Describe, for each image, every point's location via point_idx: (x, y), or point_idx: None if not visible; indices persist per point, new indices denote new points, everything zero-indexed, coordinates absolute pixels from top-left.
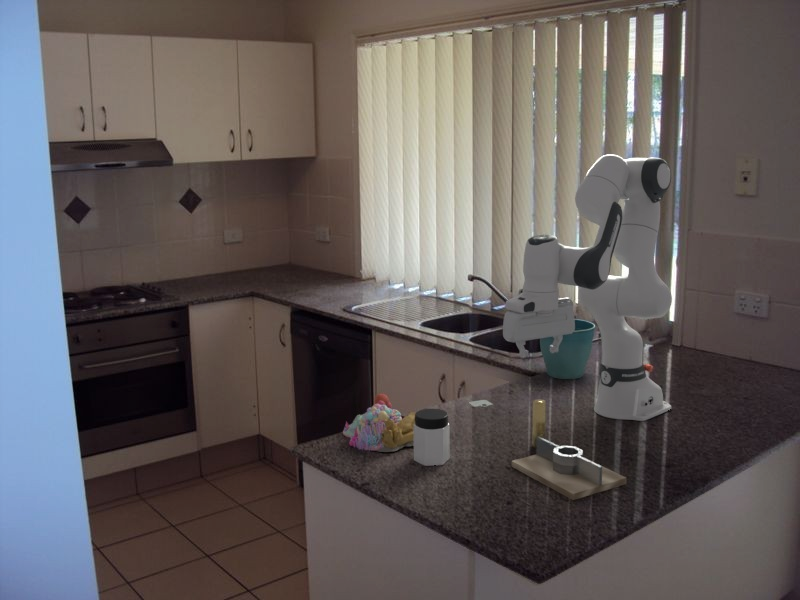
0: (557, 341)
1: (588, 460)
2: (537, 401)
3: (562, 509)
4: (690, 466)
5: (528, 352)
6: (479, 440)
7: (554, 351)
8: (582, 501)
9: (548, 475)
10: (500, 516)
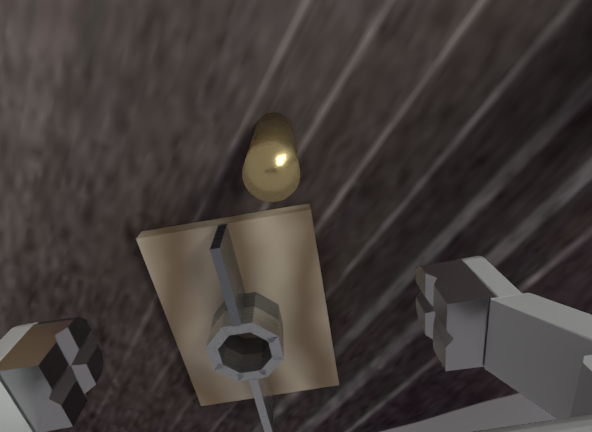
0: (550, 390)
1: (261, 404)
2: (262, 172)
3: (169, 413)
4: None
5: (82, 408)
6: (104, 3)
7: (430, 329)
8: None
9: (191, 333)
10: None
